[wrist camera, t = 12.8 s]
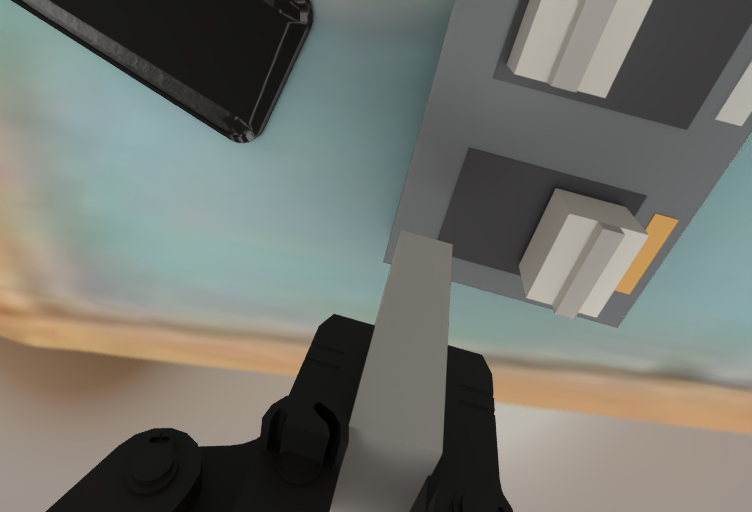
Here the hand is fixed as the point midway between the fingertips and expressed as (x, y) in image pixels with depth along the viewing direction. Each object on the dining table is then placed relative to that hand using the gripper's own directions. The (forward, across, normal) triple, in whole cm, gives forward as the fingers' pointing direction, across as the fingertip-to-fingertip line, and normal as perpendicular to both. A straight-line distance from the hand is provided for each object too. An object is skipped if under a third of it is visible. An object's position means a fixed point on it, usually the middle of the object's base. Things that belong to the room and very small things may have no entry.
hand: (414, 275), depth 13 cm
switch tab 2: (+7, +7, -1) cm, 10 cm away
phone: (+11, -15, +4) cm, 19 cm away
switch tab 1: (+8, +3, +7) cm, 11 cm away
